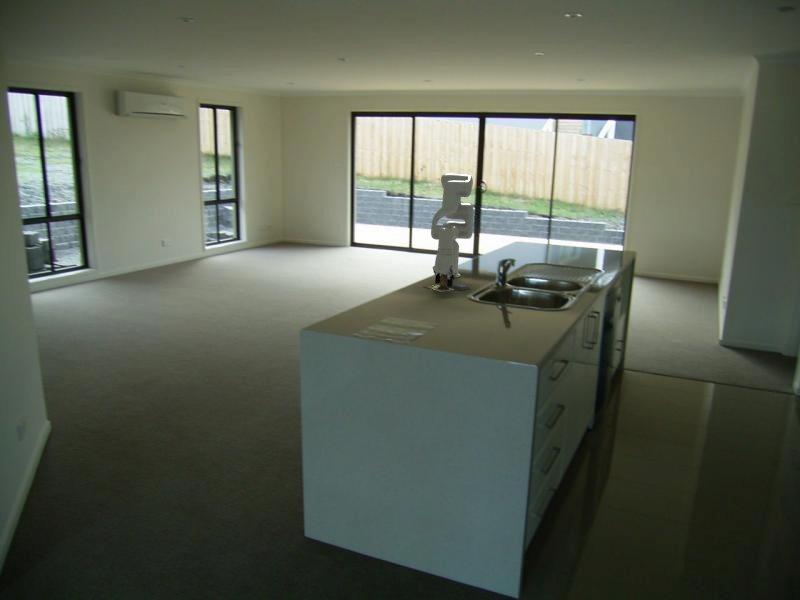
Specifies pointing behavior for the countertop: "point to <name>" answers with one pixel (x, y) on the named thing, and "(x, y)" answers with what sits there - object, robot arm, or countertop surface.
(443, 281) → the stamp
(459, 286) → the ink pad
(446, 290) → the card sheet
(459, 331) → the countertop surface
